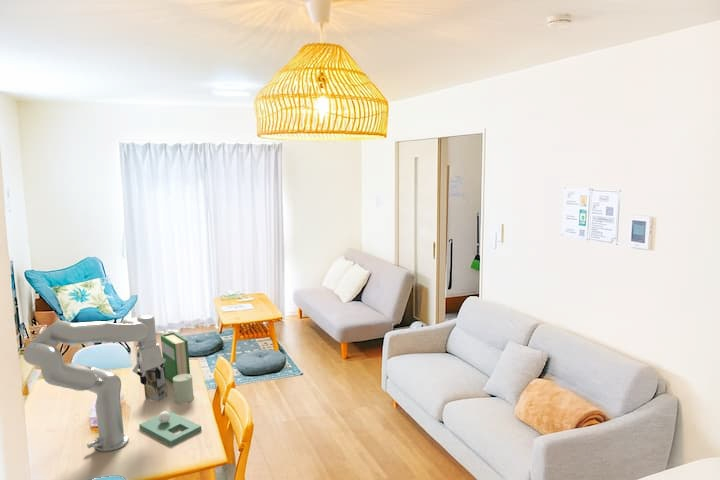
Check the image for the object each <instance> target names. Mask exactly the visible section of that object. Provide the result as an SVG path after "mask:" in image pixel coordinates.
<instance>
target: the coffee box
mask: <svg viewBox="0 0 720 480" xmlns="http://www.w3.org/2000/svg"><path fill="white" fill-rule="evenodd" d="M155 369H156V368H152V369H150V370H147V371H146V372H145V375H144V376H146V385H143V388H144V398H145V400H149V401H154V402H159V403H160V402H161V401H162V400H164V399H167V398H168V387H167V379H166V376H165V366H163V367H162V369H161V379H157V378H156V377H155Z"/></svg>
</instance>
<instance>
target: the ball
mask: <svg viewBox="0 0 720 480" xmlns="http://www.w3.org/2000/svg"><path fill="white" fill-rule="evenodd" d="M157 416H158V420H159V421H160V422H161V423H167V422H168V421H169V420H170V414H169V413H168V411H161V412H160V413H159V414H158V415H157Z"/></svg>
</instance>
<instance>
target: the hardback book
mask: <svg viewBox="0 0 720 480" xmlns="http://www.w3.org/2000/svg"><path fill="white" fill-rule="evenodd" d="M160 343H161V355H162V357H163V358H164V359H166V361H165V363H164V365H163V366H165V376H166V381H168V382H169V383H170V384H172V385H173V377H175V376H176V375H179V374H191V370H190V368H191V367H190V357H189V345H188V343H189V342H188V340H187V339H186V338H184V337H183V336H181V335H180V334H178V333H176V332H175V331H173V332H170V333H164V334H160Z"/></svg>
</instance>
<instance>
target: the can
mask: <svg viewBox="0 0 720 480" xmlns="http://www.w3.org/2000/svg"><path fill="white" fill-rule="evenodd" d="M172 385H173V386H172V387H173V392H174V393H173V395H174V396H173V397H174V398H173V399H174V403H176V404H178V405H179V404H180V405H182V404H187V403H191V402H192V401H193V400H194V398H195V395H194V386H193V375H192V374H191V373H190V374H179V375H176V376H175V377H173V384H172Z"/></svg>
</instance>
